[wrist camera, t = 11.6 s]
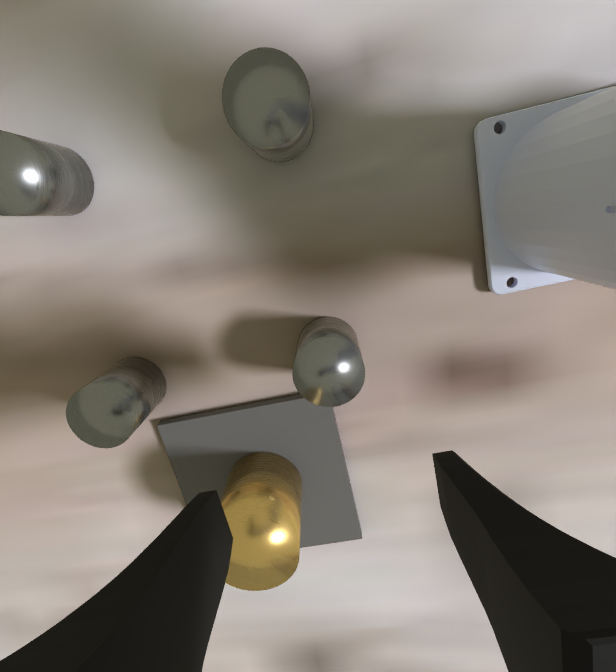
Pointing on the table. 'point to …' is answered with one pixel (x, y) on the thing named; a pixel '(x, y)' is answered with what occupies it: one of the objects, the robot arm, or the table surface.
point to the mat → (273, 437)
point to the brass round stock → (263, 520)
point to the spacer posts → (76, 194)
